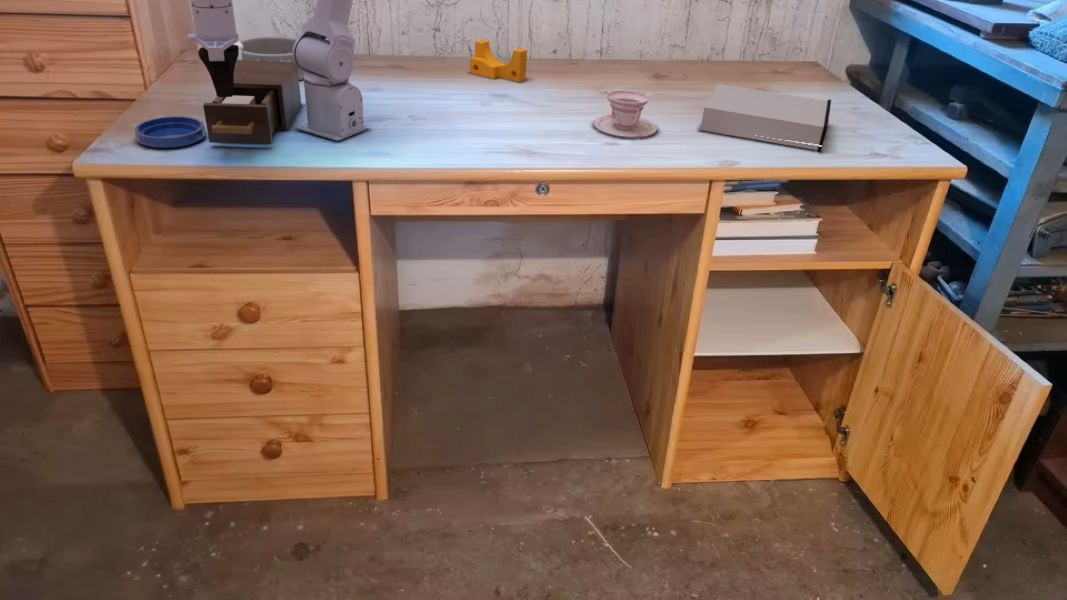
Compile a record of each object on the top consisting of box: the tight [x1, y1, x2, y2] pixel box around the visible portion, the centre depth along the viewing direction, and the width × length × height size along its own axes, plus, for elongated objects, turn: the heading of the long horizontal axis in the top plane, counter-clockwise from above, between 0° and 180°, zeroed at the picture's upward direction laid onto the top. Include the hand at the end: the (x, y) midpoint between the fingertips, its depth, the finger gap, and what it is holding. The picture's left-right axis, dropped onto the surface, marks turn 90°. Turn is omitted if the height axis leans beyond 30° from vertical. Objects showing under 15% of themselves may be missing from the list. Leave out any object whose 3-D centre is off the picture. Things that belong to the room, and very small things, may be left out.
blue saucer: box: [134, 115, 207, 149], centre depth 130 cm, size 11×11×2 cm
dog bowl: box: [239, 35, 304, 81], centre depth 166 cm, size 17×18×5 cm
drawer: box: [202, 88, 281, 145], centre depth 131 cm, size 17×10×6 cm, turn 4°
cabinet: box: [215, 60, 302, 131], centre depth 140 cm, size 14×11×8 cm
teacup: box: [593, 88, 658, 138], centre depth 147 cm, size 12×12×6 cm
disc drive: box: [699, 83, 832, 153], centre depth 152 cm, size 18×22×5 cm
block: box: [222, 96, 255, 104], centre depth 131 cm, size 4×4×4 cm
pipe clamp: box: [469, 39, 528, 83], centre depth 171 cm, size 12×4×6 cm, turn 58°
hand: (225, 95), depth 121 cm, fingers closed
